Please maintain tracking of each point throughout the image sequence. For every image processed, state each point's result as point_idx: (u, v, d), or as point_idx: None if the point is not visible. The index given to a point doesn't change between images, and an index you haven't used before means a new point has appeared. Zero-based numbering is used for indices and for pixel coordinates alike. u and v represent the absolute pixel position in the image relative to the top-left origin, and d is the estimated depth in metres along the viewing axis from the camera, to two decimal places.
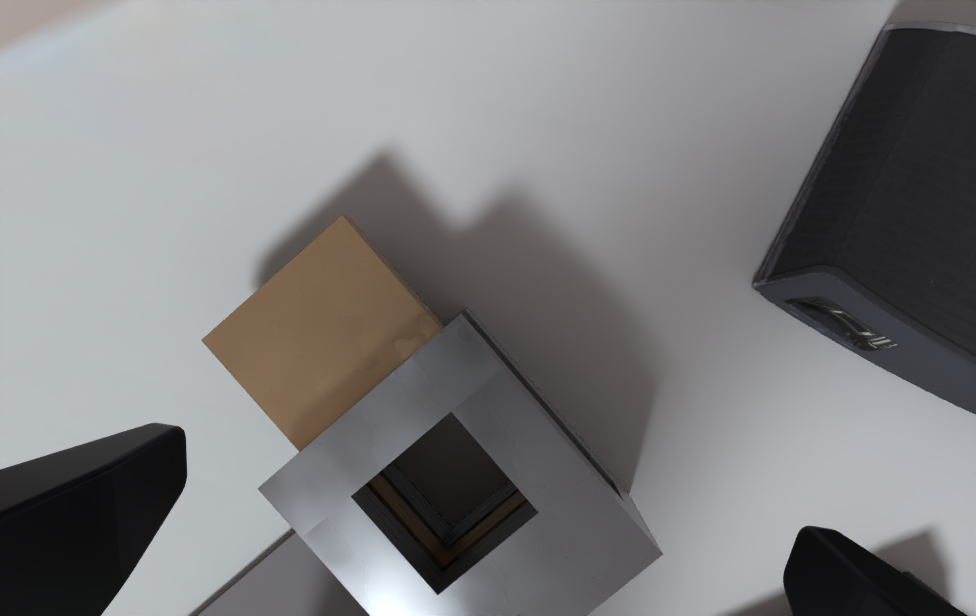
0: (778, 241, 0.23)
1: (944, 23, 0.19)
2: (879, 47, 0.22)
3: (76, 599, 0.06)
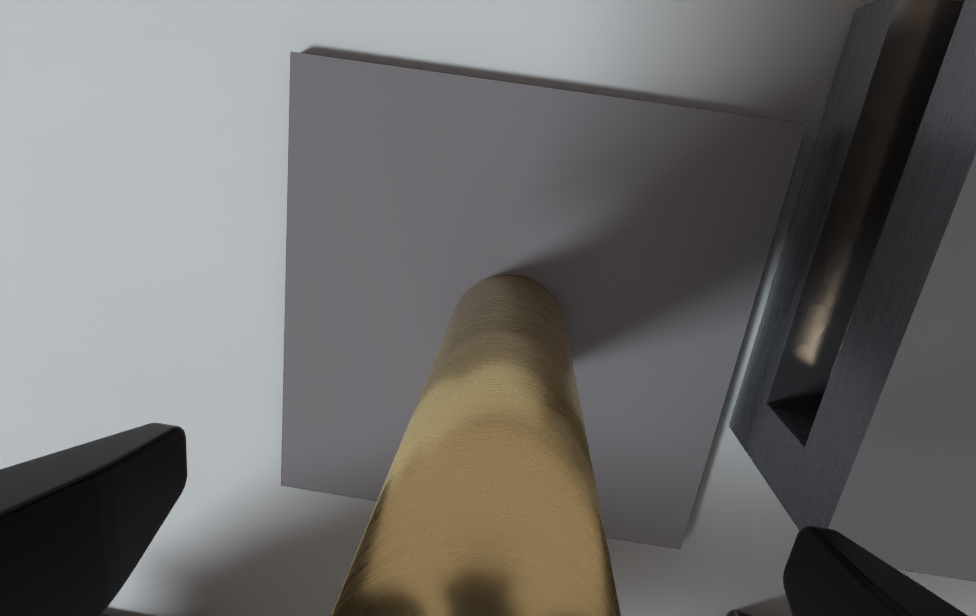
0: None
1: None
2: None
3: (77, 599, 0.06)
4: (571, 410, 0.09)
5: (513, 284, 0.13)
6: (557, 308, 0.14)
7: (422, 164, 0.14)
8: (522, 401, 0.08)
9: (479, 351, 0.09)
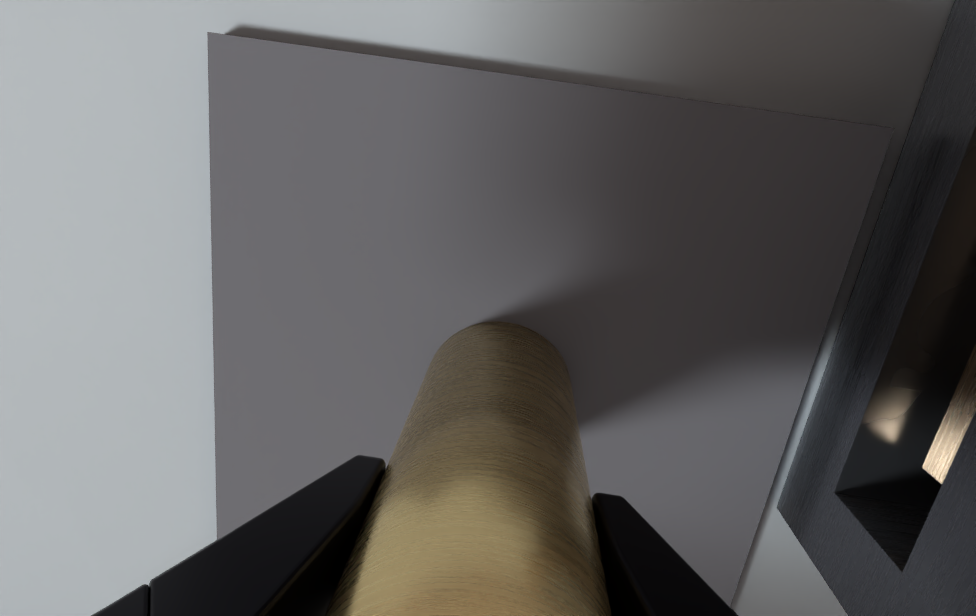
0: None
1: None
2: None
3: None
4: (589, 586, 0.05)
5: (503, 338, 0.10)
6: (561, 368, 0.10)
7: (385, 181, 0.10)
8: (507, 600, 0.05)
9: (446, 470, 0.06)
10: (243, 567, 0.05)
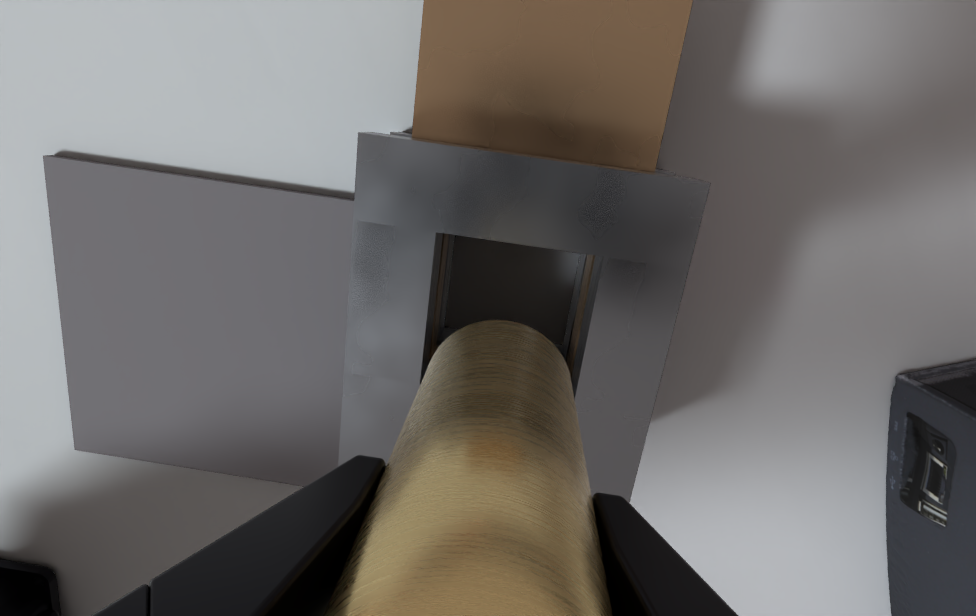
0: (962, 367, 0.20)
1: None
2: None
3: None
4: (589, 584, 0.05)
5: (503, 336, 0.10)
6: (561, 367, 0.10)
7: (138, 228, 0.20)
8: (507, 599, 0.04)
9: (445, 468, 0.06)
10: (243, 567, 0.05)
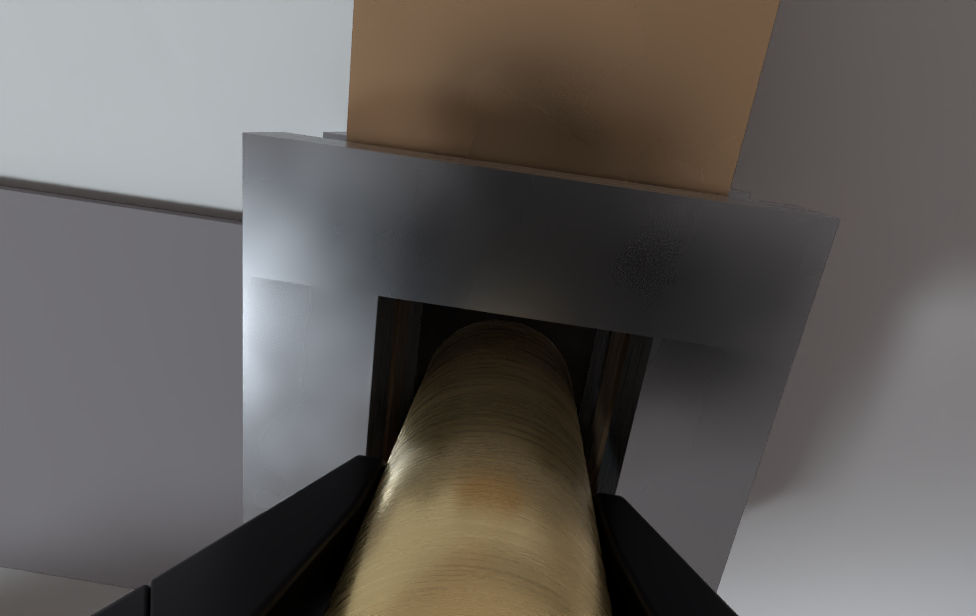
0: None
1: None
2: None
3: None
4: (589, 584, 0.05)
5: (503, 336, 0.10)
6: (561, 367, 0.10)
7: None
8: (507, 599, 0.04)
9: (445, 467, 0.06)
10: (243, 567, 0.05)
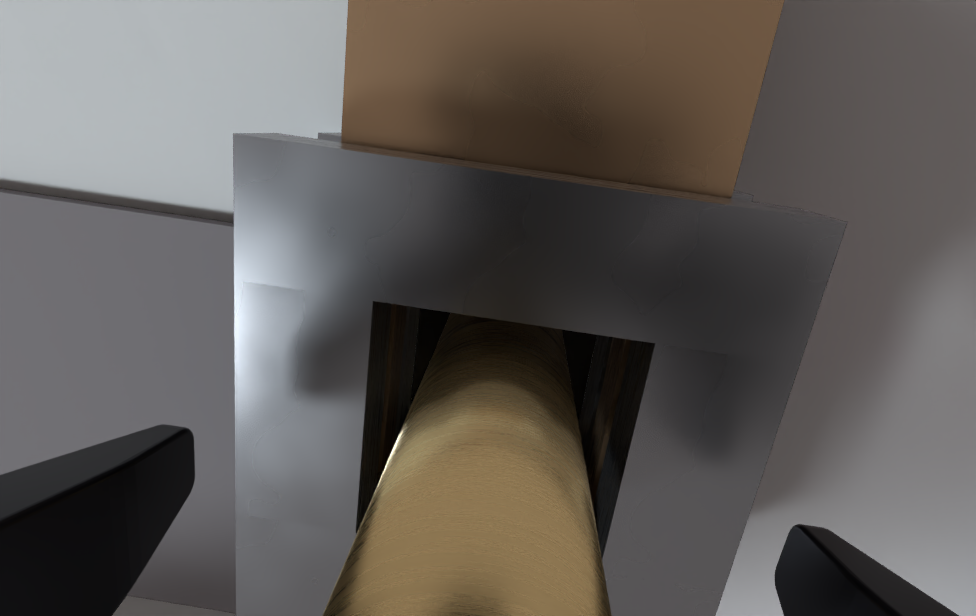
0: None
1: None
2: None
3: (87, 601, 0.06)
4: (567, 429, 0.08)
5: None
6: None
7: None
8: (514, 420, 0.07)
9: (470, 365, 0.09)
10: None
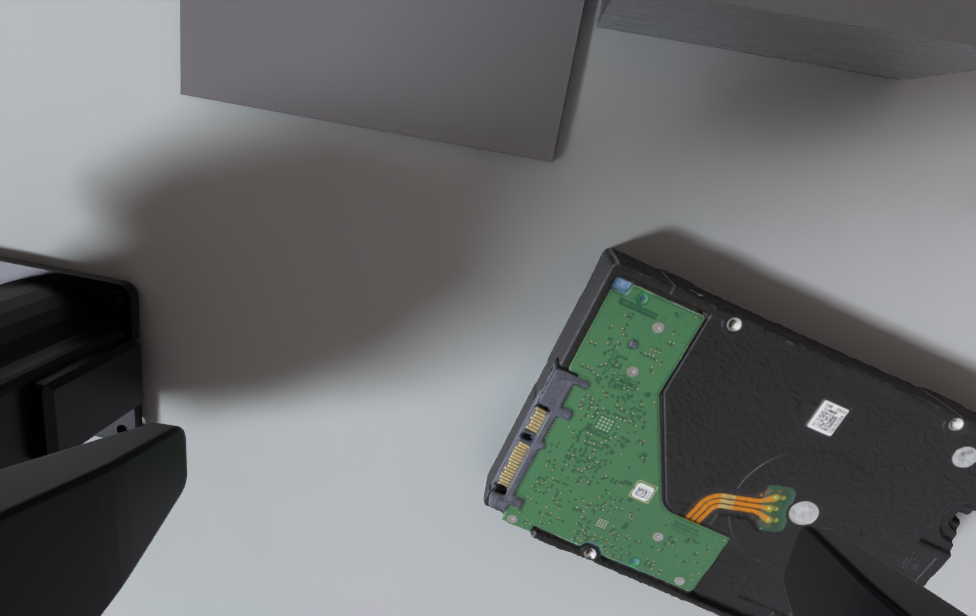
0: None
1: None
2: None
3: (77, 599, 0.06)
4: None
5: None
6: None
7: None
8: None
9: None
10: None
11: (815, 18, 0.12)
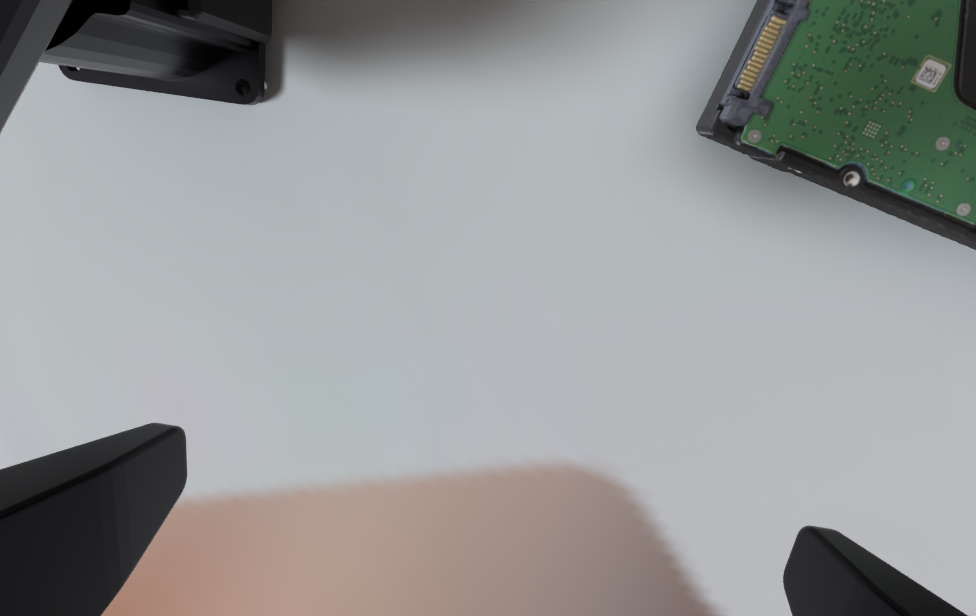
0: None
1: None
2: None
3: (76, 599, 0.06)
4: None
5: None
6: None
7: None
8: None
9: None
10: None
11: None
